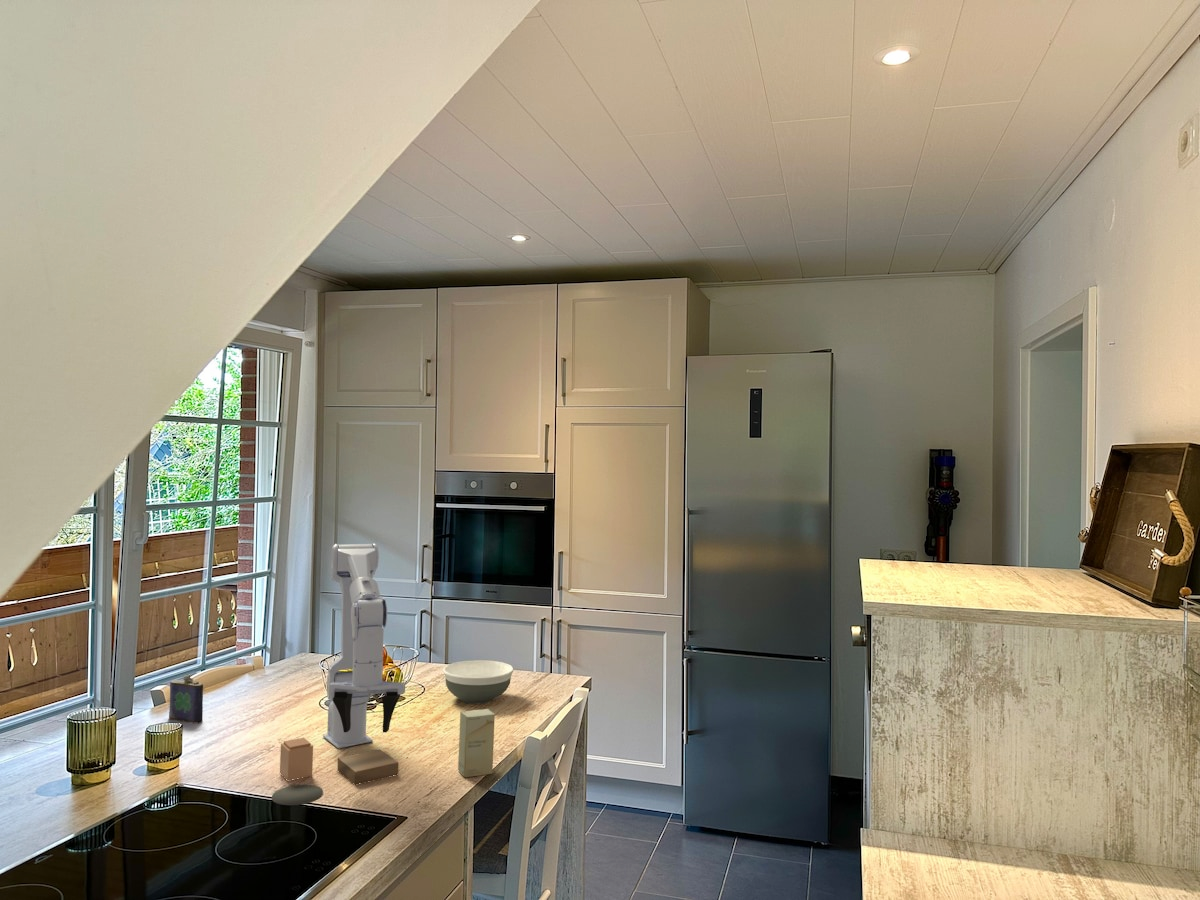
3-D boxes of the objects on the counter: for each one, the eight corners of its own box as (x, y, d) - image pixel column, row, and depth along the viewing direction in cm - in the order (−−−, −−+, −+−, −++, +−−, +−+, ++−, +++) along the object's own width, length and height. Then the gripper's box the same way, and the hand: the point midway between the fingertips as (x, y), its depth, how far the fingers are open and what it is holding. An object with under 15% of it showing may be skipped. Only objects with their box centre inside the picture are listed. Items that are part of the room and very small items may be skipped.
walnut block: (337, 772, 166) (337, 757, 166) (379, 763, 171) (379, 749, 171) (354, 787, 159) (355, 771, 159) (398, 777, 164) (398, 762, 164)
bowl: (477, 685, 230) (477, 656, 231) (527, 698, 219) (528, 667, 220) (427, 700, 215) (427, 669, 215) (478, 714, 204) (479, 681, 204)
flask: (166, 719, 194) (168, 674, 194) (176, 715, 197) (178, 671, 197) (196, 724, 191) (198, 678, 191) (206, 720, 194) (208, 675, 194)
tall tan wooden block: (279, 773, 163) (280, 741, 163) (303, 768, 166) (305, 736, 166) (287, 781, 160) (288, 748, 160) (312, 776, 162) (313, 743, 163)
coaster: (265, 794, 154) (265, 791, 154) (313, 783, 160) (313, 780, 160) (280, 811, 147) (280, 808, 147) (329, 799, 152) (329, 796, 152)
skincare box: (464, 778, 163) (465, 717, 164) (457, 770, 167) (459, 711, 167) (493, 773, 166) (495, 713, 166) (486, 766, 170) (488, 707, 170)
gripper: (324, 664, 157) (322, 736, 156) (399, 664, 157) (398, 736, 156) (336, 657, 164) (334, 726, 163) (408, 658, 164) (406, 726, 163)
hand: (366, 731), depth 160 cm, fingers open, 7 cm apart
